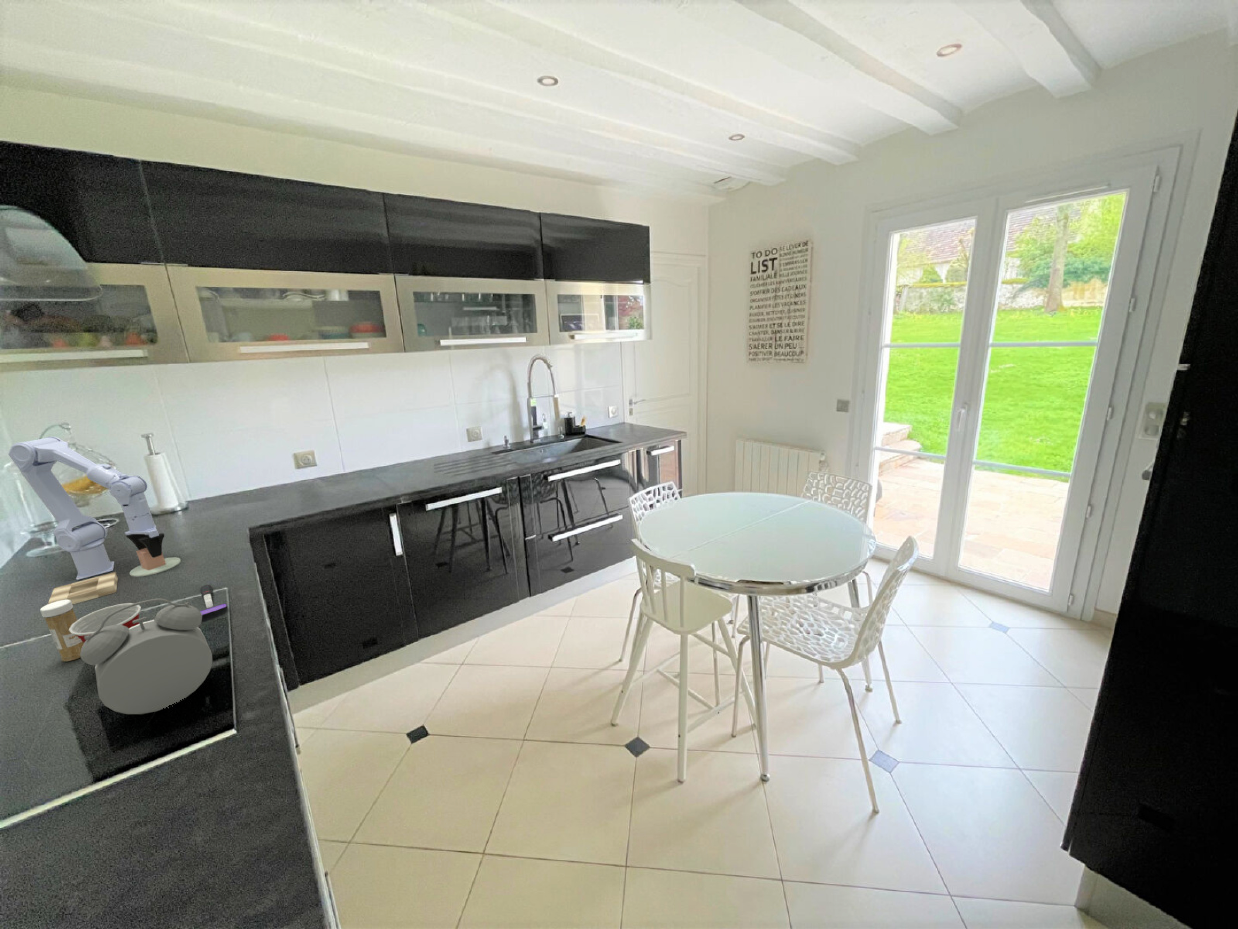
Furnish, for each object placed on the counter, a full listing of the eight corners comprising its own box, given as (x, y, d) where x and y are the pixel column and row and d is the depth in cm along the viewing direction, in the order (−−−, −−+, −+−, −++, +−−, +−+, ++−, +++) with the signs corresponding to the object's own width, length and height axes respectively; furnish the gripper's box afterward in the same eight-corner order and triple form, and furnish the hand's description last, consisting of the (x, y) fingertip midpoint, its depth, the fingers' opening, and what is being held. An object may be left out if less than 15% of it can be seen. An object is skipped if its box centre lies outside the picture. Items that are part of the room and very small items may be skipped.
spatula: (191, 592, 136) (189, 584, 135) (221, 583, 140) (219, 576, 140) (195, 626, 119) (192, 617, 118) (229, 614, 123) (226, 606, 123)
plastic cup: (86, 688, 97) (66, 638, 94) (89, 665, 105) (69, 618, 102) (158, 661, 105) (141, 614, 102) (155, 641, 112) (139, 597, 109)
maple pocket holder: (56, 594, 138) (54, 588, 137) (117, 578, 146) (115, 572, 146) (50, 610, 129) (47, 603, 129) (116, 592, 138) (113, 585, 137)
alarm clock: (218, 670, 101) (188, 578, 95) (227, 688, 95) (196, 591, 89) (108, 717, 89) (67, 615, 83) (111, 741, 83) (66, 633, 78)
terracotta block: (142, 568, 151) (136, 551, 150) (159, 562, 155) (154, 545, 154) (148, 570, 149) (142, 553, 148) (166, 564, 153) (160, 547, 152)
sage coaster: (130, 568, 153) (130, 567, 153) (179, 555, 161) (179, 554, 161) (129, 580, 145) (129, 578, 144) (181, 566, 153) (181, 564, 152)
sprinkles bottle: (86, 657, 108) (65, 605, 104) (58, 665, 106) (35, 612, 102) (94, 646, 112) (73, 596, 108) (66, 654, 109) (44, 603, 106)
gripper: (110, 516, 148) (125, 556, 151) (131, 522, 141) (145, 563, 145) (140, 509, 154) (153, 547, 157) (161, 514, 147) (174, 553, 151)
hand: (151, 554), depth 151 cm, fingers open, 7 cm apart
